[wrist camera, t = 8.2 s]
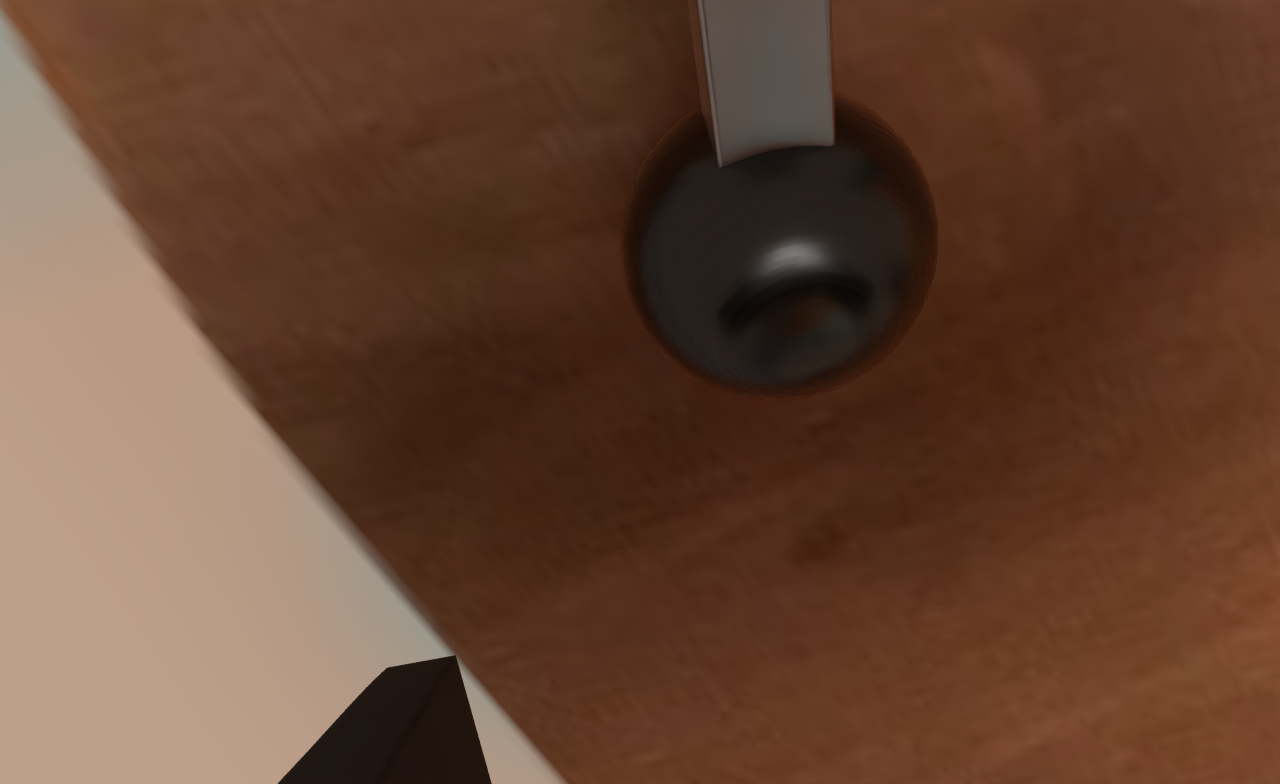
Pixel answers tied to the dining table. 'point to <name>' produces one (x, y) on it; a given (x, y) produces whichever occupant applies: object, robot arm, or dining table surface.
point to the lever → (777, 214)
